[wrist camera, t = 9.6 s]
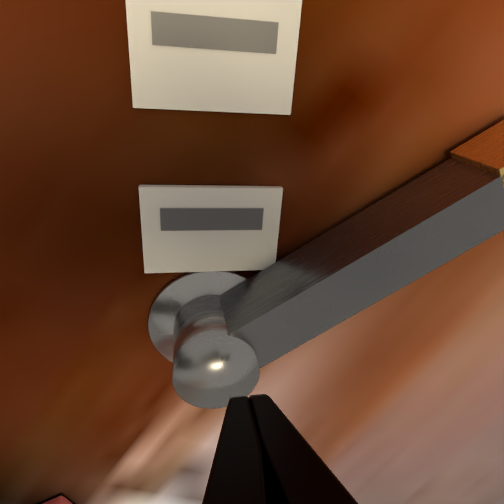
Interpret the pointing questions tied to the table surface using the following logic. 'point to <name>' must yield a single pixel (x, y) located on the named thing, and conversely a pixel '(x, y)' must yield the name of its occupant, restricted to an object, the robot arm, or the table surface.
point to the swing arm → (339, 273)
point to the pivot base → (184, 302)
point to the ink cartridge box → (58, 501)
